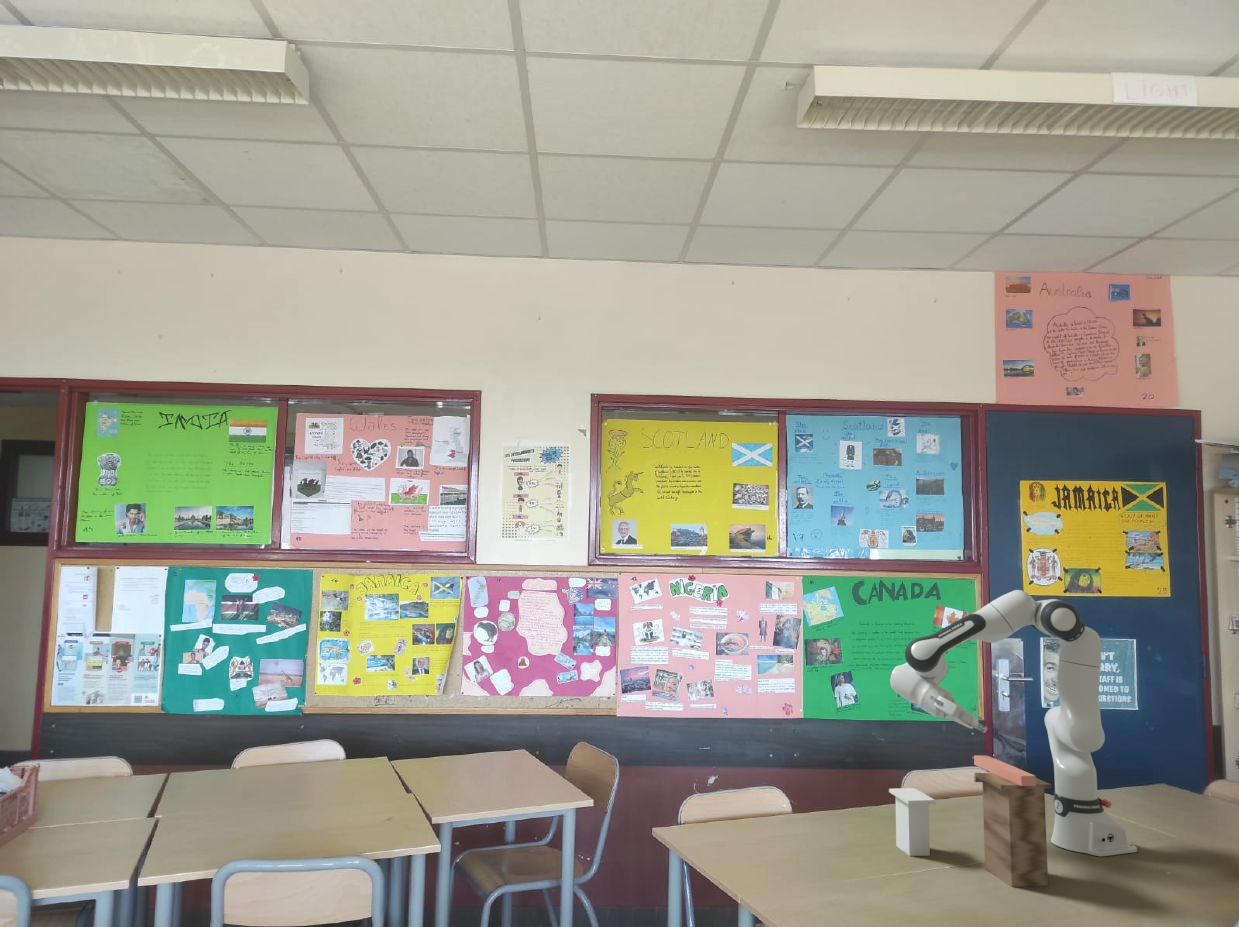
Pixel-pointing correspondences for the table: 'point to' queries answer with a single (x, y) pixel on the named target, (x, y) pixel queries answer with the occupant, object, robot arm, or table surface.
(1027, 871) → the brown pedestal
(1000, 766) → the salmon pink flat bar
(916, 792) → the stand
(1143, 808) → the table surface
